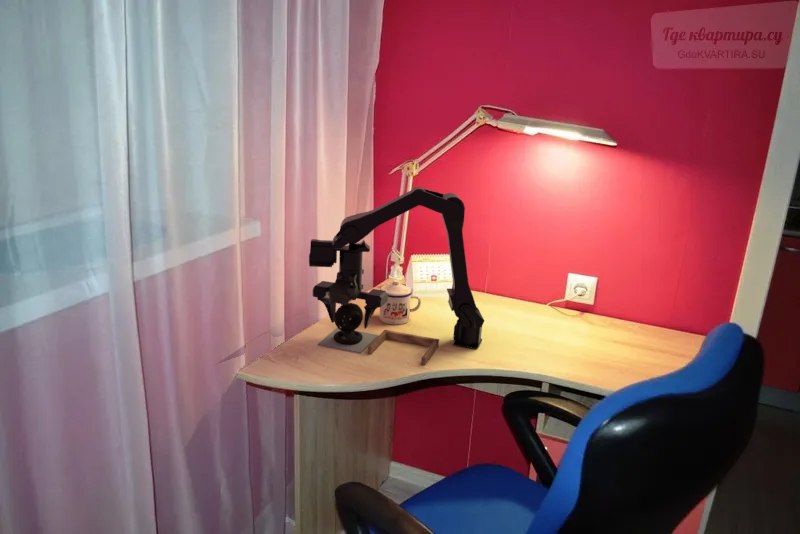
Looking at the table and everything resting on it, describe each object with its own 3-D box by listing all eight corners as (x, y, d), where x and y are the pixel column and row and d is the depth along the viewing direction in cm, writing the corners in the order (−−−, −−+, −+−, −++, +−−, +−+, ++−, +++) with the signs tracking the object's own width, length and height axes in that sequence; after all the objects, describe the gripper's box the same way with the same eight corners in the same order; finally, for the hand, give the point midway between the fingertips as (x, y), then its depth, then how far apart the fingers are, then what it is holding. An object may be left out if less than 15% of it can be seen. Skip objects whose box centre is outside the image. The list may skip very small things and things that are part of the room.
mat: (378, 336, 160) (378, 334, 159) (361, 353, 149) (361, 352, 148) (337, 328, 163) (337, 327, 163) (317, 345, 152) (317, 343, 152)
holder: (438, 346, 155) (439, 339, 154) (425, 365, 144) (425, 357, 144) (384, 336, 160) (384, 329, 159) (367, 354, 149) (367, 346, 148)
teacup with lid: (380, 325, 167) (381, 285, 163) (377, 313, 175) (378, 275, 172) (422, 325, 168) (424, 286, 165) (417, 313, 177) (419, 276, 174)
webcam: (340, 347, 151) (341, 310, 148) (328, 336, 157) (329, 300, 154) (368, 342, 154) (369, 306, 152) (355, 331, 161) (356, 296, 158)
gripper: (302, 270, 146) (302, 330, 150) (373, 281, 140) (371, 343, 144) (322, 259, 156) (322, 315, 160) (389, 269, 150) (387, 326, 155)
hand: (349, 325), depth 155 cm, fingers open, 9 cm apart
